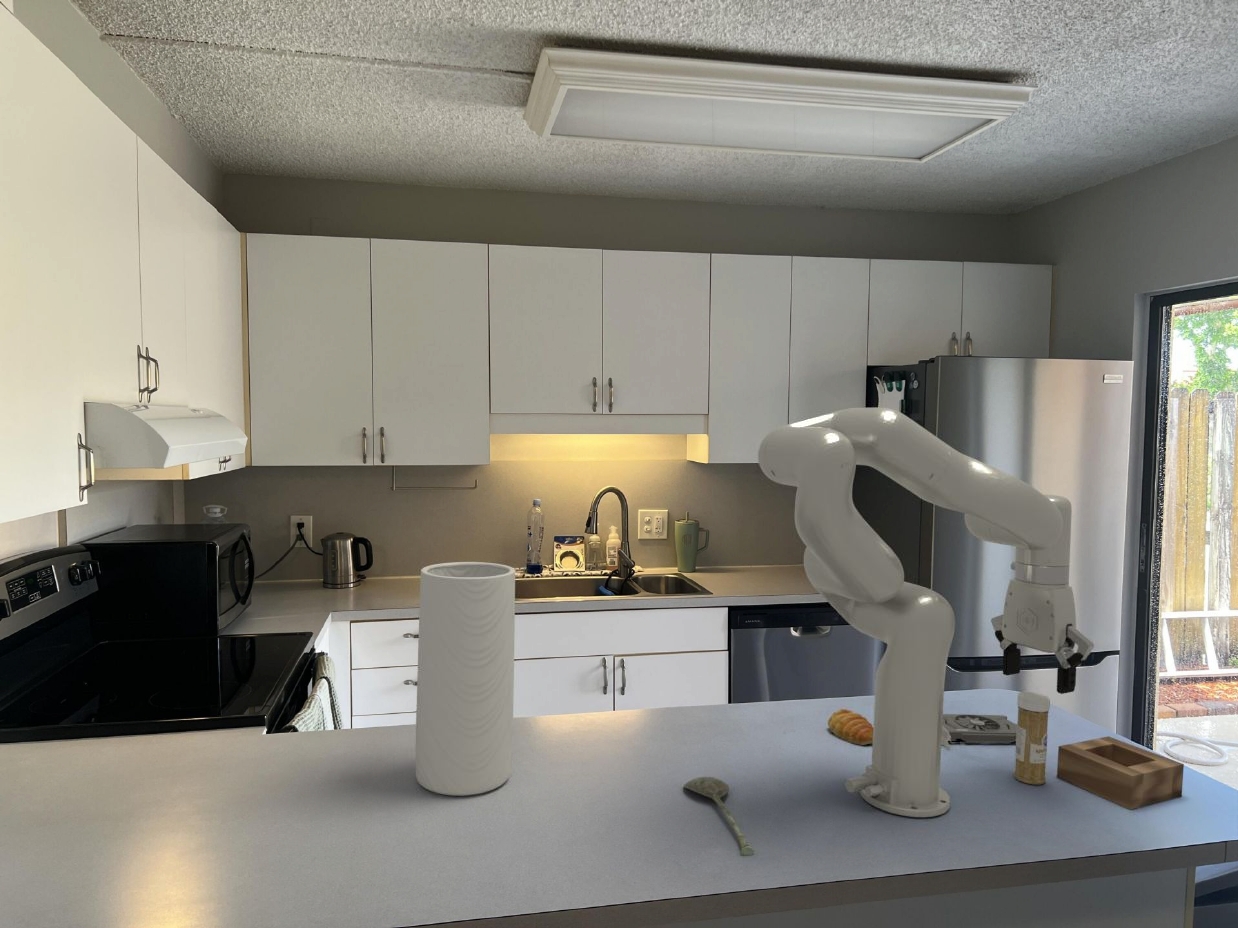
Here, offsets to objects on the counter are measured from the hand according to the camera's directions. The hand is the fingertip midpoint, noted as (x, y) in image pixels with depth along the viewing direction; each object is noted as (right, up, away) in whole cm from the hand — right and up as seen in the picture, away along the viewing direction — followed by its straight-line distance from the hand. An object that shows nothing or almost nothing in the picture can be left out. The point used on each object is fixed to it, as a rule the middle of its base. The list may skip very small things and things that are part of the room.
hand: (1037, 682), depth 131 cm
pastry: (-24, -14, +18) cm, 33 cm away
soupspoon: (-51, -15, -15) cm, 56 cm away
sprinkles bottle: (-1, -16, +1) cm, 16 cm away
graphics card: (-2, -15, +18) cm, 24 cm away
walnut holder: (+12, -16, -1) cm, 20 cm away
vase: (-89, -13, -5) cm, 90 cm away
